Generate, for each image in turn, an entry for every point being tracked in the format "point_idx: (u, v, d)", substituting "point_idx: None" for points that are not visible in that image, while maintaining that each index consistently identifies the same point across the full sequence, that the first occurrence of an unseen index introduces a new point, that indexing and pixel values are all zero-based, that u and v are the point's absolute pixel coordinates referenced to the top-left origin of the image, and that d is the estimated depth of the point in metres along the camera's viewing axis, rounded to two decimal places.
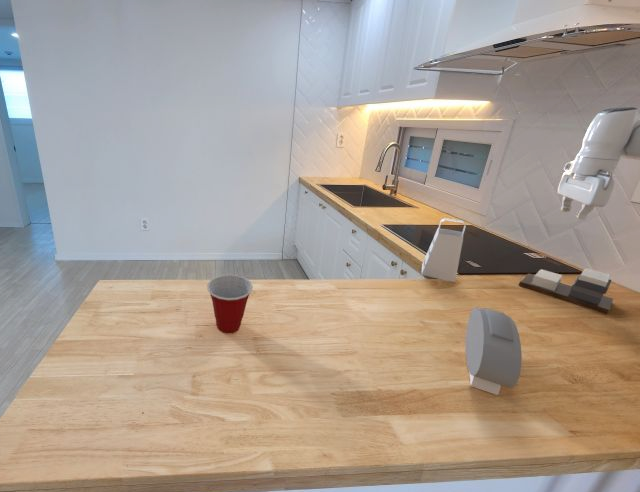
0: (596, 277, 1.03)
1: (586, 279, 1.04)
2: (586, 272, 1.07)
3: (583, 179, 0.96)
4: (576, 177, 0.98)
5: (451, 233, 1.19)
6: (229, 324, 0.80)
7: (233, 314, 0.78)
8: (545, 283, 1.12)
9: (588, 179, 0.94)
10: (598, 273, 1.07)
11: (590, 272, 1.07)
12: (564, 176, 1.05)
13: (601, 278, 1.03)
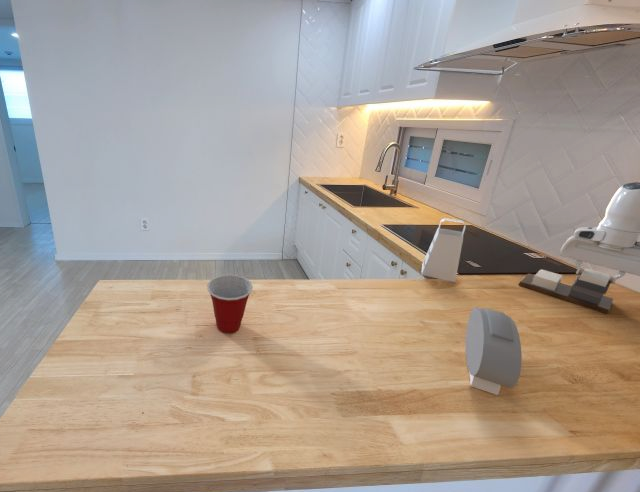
0: (596, 277, 1.03)
1: (586, 279, 1.04)
2: (586, 272, 1.07)
3: (621, 250, 0.99)
4: (613, 248, 0.99)
5: (451, 233, 1.19)
6: (229, 324, 0.80)
7: (233, 314, 0.78)
8: (545, 283, 1.12)
9: (631, 251, 0.98)
10: (598, 273, 1.07)
11: (590, 272, 1.07)
12: (573, 241, 1.06)
13: (601, 278, 1.03)
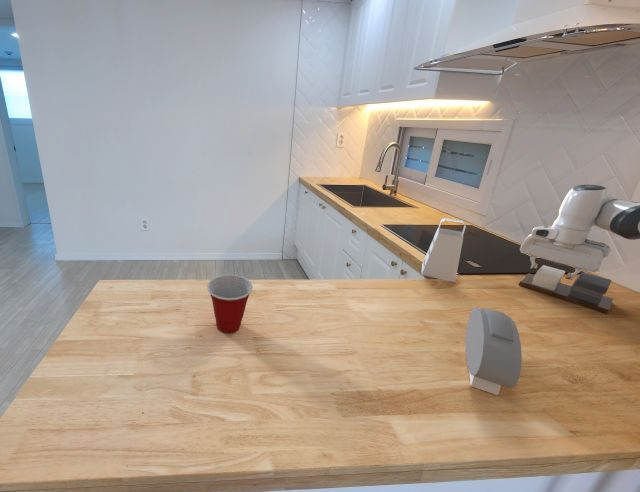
0: (551, 273, 1.11)
1: (542, 275, 1.12)
2: (543, 269, 1.15)
3: (572, 247, 1.07)
4: (565, 245, 1.07)
5: (451, 233, 1.19)
6: (229, 324, 0.80)
7: (233, 314, 0.78)
8: (545, 283, 1.12)
9: (581, 248, 1.06)
10: (554, 270, 1.15)
11: (547, 269, 1.15)
12: (531, 239, 1.14)
13: (555, 274, 1.11)
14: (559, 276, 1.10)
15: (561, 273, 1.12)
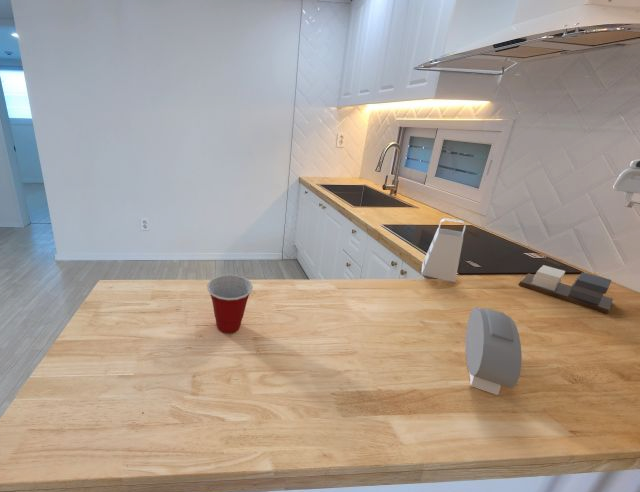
0: (551, 273, 1.11)
1: (542, 275, 1.12)
2: (543, 269, 1.15)
3: None
4: None
5: (451, 233, 1.19)
6: (229, 324, 0.80)
7: (233, 314, 0.78)
8: (545, 283, 1.12)
9: None
10: (554, 270, 1.15)
11: (547, 269, 1.15)
12: (629, 173, 1.04)
13: (555, 274, 1.11)
14: (559, 276, 1.10)
15: (561, 273, 1.12)
